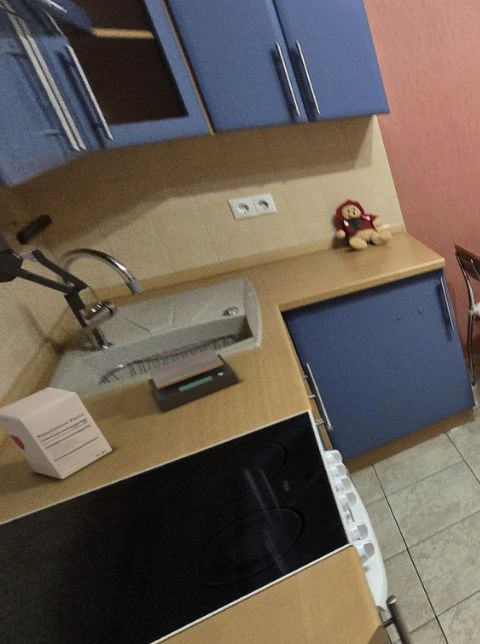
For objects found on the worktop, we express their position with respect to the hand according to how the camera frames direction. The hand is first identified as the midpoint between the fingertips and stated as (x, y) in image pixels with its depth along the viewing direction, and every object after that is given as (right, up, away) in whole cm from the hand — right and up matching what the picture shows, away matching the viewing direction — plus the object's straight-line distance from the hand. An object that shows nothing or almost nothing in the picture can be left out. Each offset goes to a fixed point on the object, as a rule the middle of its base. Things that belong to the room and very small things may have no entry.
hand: (36, 340), depth 102 cm
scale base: (+5, -14, +31) cm, 34 cm away
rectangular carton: (0, -26, +7) cm, 26 cm away
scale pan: (+4, -9, +29) cm, 31 cm away
